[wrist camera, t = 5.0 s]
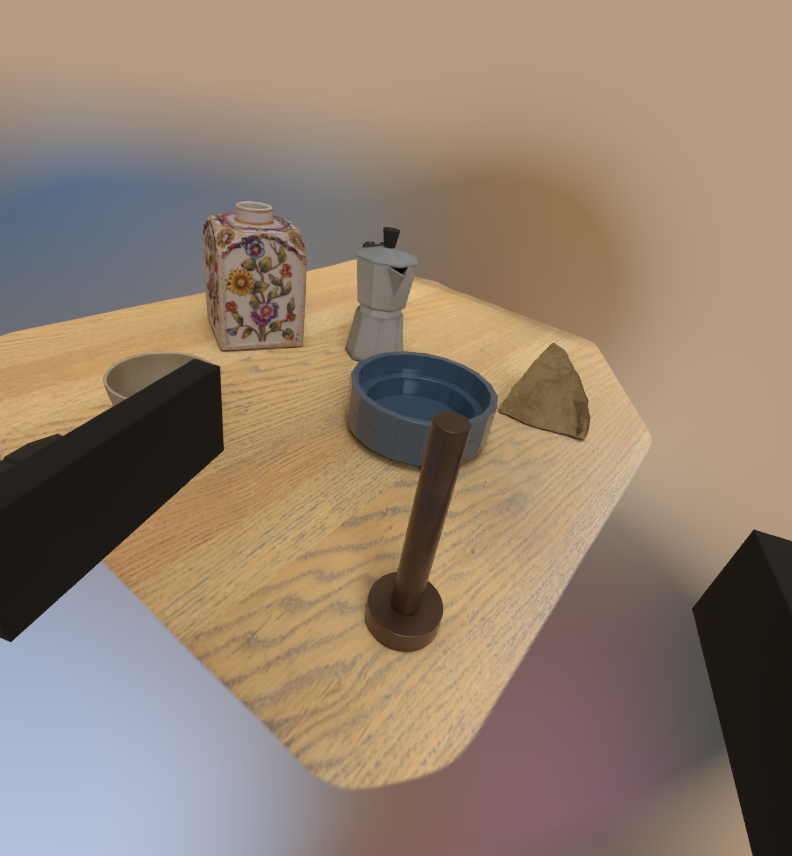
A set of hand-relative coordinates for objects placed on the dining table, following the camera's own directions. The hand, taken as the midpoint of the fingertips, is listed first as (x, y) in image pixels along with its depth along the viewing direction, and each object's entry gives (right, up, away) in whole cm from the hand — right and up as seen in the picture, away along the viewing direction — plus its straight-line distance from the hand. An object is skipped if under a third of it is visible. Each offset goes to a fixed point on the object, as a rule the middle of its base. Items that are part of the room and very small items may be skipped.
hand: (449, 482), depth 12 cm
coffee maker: (-5, +13, +63) cm, 65 cm away
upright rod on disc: (-1, -13, +25) cm, 28 cm away
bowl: (+1, +1, +47) cm, 47 cm away
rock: (+18, +2, +52) cm, 55 cm away
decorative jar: (-23, +15, +62) cm, 67 cm away
